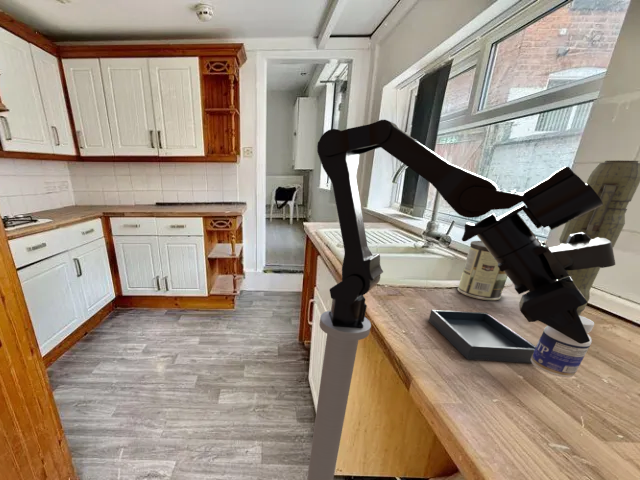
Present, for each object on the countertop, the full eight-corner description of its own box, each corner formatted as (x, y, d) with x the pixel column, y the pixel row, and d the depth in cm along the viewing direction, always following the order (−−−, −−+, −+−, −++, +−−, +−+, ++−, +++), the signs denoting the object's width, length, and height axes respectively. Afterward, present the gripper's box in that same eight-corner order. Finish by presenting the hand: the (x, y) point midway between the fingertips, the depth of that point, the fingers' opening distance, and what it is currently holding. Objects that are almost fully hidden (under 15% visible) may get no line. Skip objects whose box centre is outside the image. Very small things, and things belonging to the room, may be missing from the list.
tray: (466, 359, 56) (471, 346, 55) (428, 320, 70) (431, 309, 69) (536, 363, 55) (542, 350, 54) (483, 323, 69) (487, 312, 68)
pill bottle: (526, 354, 52) (547, 307, 48) (567, 365, 49) (593, 316, 46) (533, 370, 47) (557, 320, 44) (579, 383, 45) (607, 330, 42)
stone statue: (576, 310, 78) (646, 162, 65) (581, 327, 69) (663, 160, 56) (531, 300, 83) (587, 161, 70) (531, 314, 75) (595, 159, 62)
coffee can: (487, 288, 91) (503, 241, 86) (508, 302, 81) (527, 251, 76) (450, 285, 92) (464, 239, 87) (466, 298, 83) (483, 248, 78)
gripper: (597, 223, 35) (694, 341, 33) (571, 209, 49) (638, 291, 47) (490, 272, 42) (564, 371, 40) (494, 248, 56) (549, 320, 54)
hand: (581, 335), depth 45 cm, fingers closed on pill bottle, 5 cm apart
